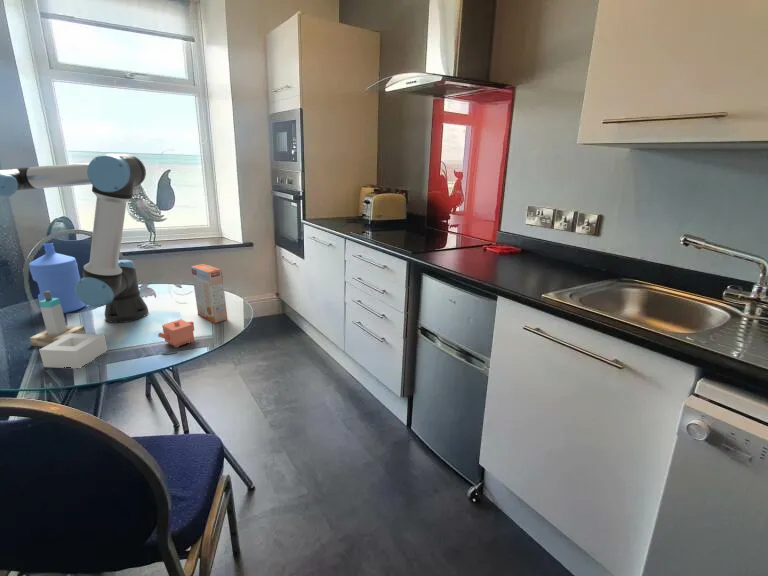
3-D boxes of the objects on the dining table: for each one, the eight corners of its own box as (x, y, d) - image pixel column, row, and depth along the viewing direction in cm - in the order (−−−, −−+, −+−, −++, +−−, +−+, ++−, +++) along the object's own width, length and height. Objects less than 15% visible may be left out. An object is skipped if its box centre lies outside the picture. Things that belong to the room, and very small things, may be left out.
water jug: (95, 301, 186) (80, 239, 177) (69, 315, 171) (52, 248, 162) (60, 301, 186) (44, 239, 177) (31, 315, 171) (12, 248, 162)
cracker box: (228, 319, 167) (222, 269, 160) (214, 324, 162) (207, 272, 156) (211, 311, 175) (204, 262, 169) (197, 315, 171) (190, 265, 165)
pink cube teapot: (155, 346, 144) (151, 324, 142) (189, 335, 153) (186, 314, 150) (166, 353, 139) (162, 330, 137) (200, 341, 148) (197, 319, 146)
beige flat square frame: (58, 332, 155) (56, 325, 154) (85, 333, 154) (84, 326, 153) (31, 345, 145) (29, 337, 144) (61, 347, 144) (59, 339, 143)
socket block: (74, 349, 142) (70, 333, 140) (107, 350, 141) (103, 334, 139) (44, 367, 131) (39, 349, 129) (80, 368, 130) (75, 351, 128)
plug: (59, 336, 151) (46, 289, 146) (69, 337, 151) (57, 290, 145) (49, 341, 148) (36, 293, 142) (60, 342, 147) (47, 293, 142)
